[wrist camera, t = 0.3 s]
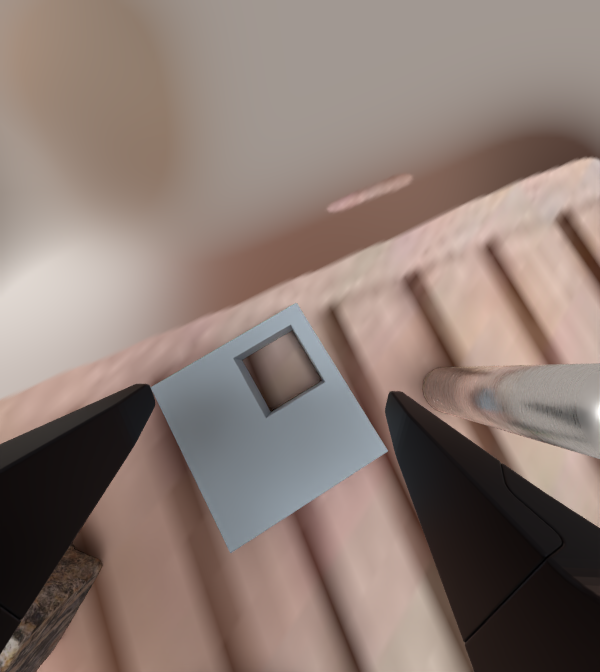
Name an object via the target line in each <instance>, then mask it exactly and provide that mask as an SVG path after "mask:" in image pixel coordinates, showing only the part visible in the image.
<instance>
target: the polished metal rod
mask: <svg viewBox="0 0 600 672" xmlns="http://www.w3.org/2000/svg"><path fill="white" fill-rule="evenodd" d="M423 393H424V396H425V398H426V400H427V402H428V403H429V404H430V405H431V406H432V407H433V408H434V409H436V410H438V411H440V412H444V413H447V414H450V415H454V416H457V417H460V418H464V419H467V420H470V421H474V422H477V423H481V424H484V425H487V426H491V427H494V428H497V429H501V430H504V431H507V432H511V433H514V434H517V435H521V436H524V437H527V438H531V439H534V440H537V441H541V442H544V443H548V444H551V445H554V446H558V447H561V448H564V449H568V450H571V451H574V452H578V453H581V454H584V455H588V456H591V457H594V458H598V459H600V364H561V365H519V366H478V367H441V368H437V369H434V370H432V371H431V372H430V373H429V374H428V375H427V376H426V378H425V380H424V383H423Z"/></svg>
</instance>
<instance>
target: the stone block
mask: <svg viewBox="0 0 600 672" xmlns="http://www.w3.org/2000/svg"><path fill="white" fill-rule="evenodd" d="M102 566H103V565H102V563H101V561H100V560H99V559H97V558H94V557H92V556H87V555H86V554H85V553H83V552H79V551H77V550H75V549H74V547H73V546H72V543H71V545H70V547H69V548H68V550H67V551H66V553H65V554H64V556H63V557H62V559H61V561H60V562H59V564H58V565H57V567H56V568H55V570H54V571H53V573H52V575H51V576H50V578H49V579H48V581H47V582H46V584H45V585H44V587H43V589H42V590H41V592H40V593H39V595H38V596H37V598H36V599H35V601H34V603H33V604H32V606H31V607H30V609H29V610H28V612H27V613H26V615H25V617H24V618H23V619H22V620H21V623H20V625H19V626H18V628H17V629H16V631H15V632H14V634H13V636H12V637H11V639H10V640H9V642H8V643H7V645H6V646H5V648H4V650H3V651H2V653H1V654H0V672H36V671H37V670H38V668H39V667H40V665H41V664H42V663H43V662H44V660H46V659H47V657H48V656H49V655H50V654H51V652H52V651H53V650H54V648H55V646H56V644H57V643H58V641H59V640H60V638H61V637H62V635H63V633H64V631H65V630H66V628H67V627H68V625H69V623H70V622H71V620H72V618H73V617H74V615H75V613H76V612H77V610H78V608H79V606H80V604H81V603H82V602H83V600H84V598H85V596H86V594H87V593H88V591H89V589H90V588H91V586H92V584H93V583H94V581H95V579H96V577H97V575H98V573H99V572H100V569H101V568H102Z"/></svg>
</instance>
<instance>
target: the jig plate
mask: <svg viewBox="0 0 600 672" xmlns="http://www.w3.org/2000/svg"><path fill="white" fill-rule="evenodd" d="M290 331H293V332H294V334H295V336H296V337H297V339H298V341H299V342H300V344H301V345H302V347H303V349H304V350H305V352H306V354H307V355H308V357H309V359H310V360H311V362H312V364H313V365H314V367H315V369H316V370H317V372H318V374H319V375H320V377H321V379H322V380H323V381H321V382H319V383H318V384H316V385H314V386H313V387H311V388H310V389H308V390H306V391H305V392H303V393H301V394H300V395H298V396H296V397H295V398H293V399H292V400H290V401H288V402H287V403H285V404H283V405H282V406H280V407H278V408H277V409H275V410H274V411H272V412H271V411H270V410H269V408H268V406H267V404H266V402H265V400H264V399H263V397H262V395H261V393H260V391H259V390H258V388H257V386H256V384H255V382H254V381H253V379H252V377H251V375H250V373H249V372H248V370H247V368H246V366H245V364H244V363H243V361H242V360H243V359H244V358H246V357H248V356H249V355H251V354H253V353H255V352H256V351H258V350H260V349H261V348H263V347H265V346H266V345H268V344H270V343H271V342H273V341H275V340H277V339H278V338H280V337H282V336H283V335H285V334H287V333H288V332H290ZM151 389H152V391H153V393H154V395H155V397H156V399H157V401H158V404H159V406H160V408H161V410H162V412H163V414H164V416H165V418H166V420H167V422H168V424H169V426H170V429H171V431H172V433H173V435H174V437H175V439H176V441H177V443H178V445H179V447H180V449H181V451H182V454H183V456H184V458H185V460H186V462H187V464H188V466H189V468H190V470H191V472H192V474H193V476H194V478H195V481H196V483H197V485H198V487H199V489H200V491H201V493H202V495H203V497H204V499H205V501H206V503H207V506H208V508H209V510H210V512H211V514H212V516H213V518H214V520H215V522H216V524H217V526H218V528H219V530H220V533H221V535H222V537H223V539H224V541H225V543H226V545H227V547H228V549H229V551H230V553H232V552H233V551H235V550H236V549H238V548H239V547H241V546H242V545H244V544H245V543H247V542H249V541H250V540H252V539H253V538H255V537H256V536H258V535H259V534H261V533H262V532H264V531H266V530H267V529H269V528H270V527H272V526H273V525H275V524H276V523H278V522H279V521H281V520H283V519H284V518H286V517H287V516H289V515H290V514H292V513H293V512H295V511H296V510H298V509H299V508H301V507H303V506H304V505H306V504H307V503H309V502H310V501H312V500H313V499H315V498H316V497H318V496H320V495H321V494H323V493H324V492H326V491H327V490H329V489H330V488H332V487H333V486H335V485H336V484H338V483H340V482H341V481H343V480H344V479H346V478H347V477H349V476H350V475H352V474H353V473H355V472H357V471H358V470H360V469H361V468H363V467H364V466H366V465H367V464H369V463H370V462H372V461H374V460H375V459H377V458H378V457H380V456H381V455H383V454H384V453H386V452H387V451H388V450H387V449H386V447H385V446H384V444H383V442H382V441H381V439H380V437H379V436H378V434H377V433H376V431H375V429H374V428H373V426H372V424H371V423H370V421H369V420H368V418H367V416H366V415H365V413H364V411H363V410H362V408H361V407H360V405H359V403H358V402H357V400H356V398H355V397H354V395H353V394H352V392H351V390H350V389H349V387H348V385H347V384H346V382H345V381H344V379H343V377H342V376H341V374H340V373H339V371H338V369H337V368H336V366H335V364H334V363H333V361H332V360H331V358H330V356H329V355H328V353H327V351H326V350H325V348H324V347H323V345H322V343H321V342H320V340H319V338H318V337H317V335H316V334H315V332H314V330H313V329H312V327H311V325H310V324H309V322H308V321H307V319H306V317H305V316H304V314H303V312H302V311H301V309H300V308H299V306H298V304H297V303H295V304H293V305H292V306H290V307H288V308H286V309H285V310H283V311H281V312H280V313H278V314H276V315H274V316H273V317H271V318H269V319H267V320H266V321H264V322H262V323H261V324H259V325H257V326H255V327H254V328H252V329H250V330H249V331H247V332H245V333H243V334H242V335H240V336H238V337H236V338H235V339H233V340H231V341H230V342H228V343H226V344H224V345H223V346H221V347H219V348H218V349H216V350H214V351H212V352H211V353H209V354H207V355H205V356H204V357H202V358H200V359H199V360H197V361H195V362H193V363H192V364H190V365H188V366H187V367H185V368H183V369H181V370H180V371H178V372H176V373H174V374H173V375H171V376H169V377H168V378H166V379H164V380H162V381H161V382H159V383H157V384H156V385H154V386H152V387H151Z"/></svg>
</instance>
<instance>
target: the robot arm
mask: <svg viewBox="0 0 600 672" xmlns="http://www.w3.org/2000/svg"><path fill="white" fill-rule="evenodd" d="M154 407H155V399H154V396H153V393H152V390H151V387H150V386H149V385H148V384H135V385H133V386H130V387H128V388H126V389H124V390H121V391H119V392H117V393H115V394H112V395H110V396H108V397H106V398H103V399H101V400H99V401H97V402H94V403H92V404H90V405H88V406H85V407H83V408H81V409H79V410H76V411H74V412H72V413H70V414H67V415H65V416H63V417H61V418H58V419H56V420H54V421H52V422H49V423H47V424H45V425H43V426H40V427H38V428H36V429H34V430H31V431H29V432H27V433H25V434H22V435H20V436H18V437H16V438H13V439H11V440H9V441H7V442H4V443H2V444H0V654H1V653H2V651H3V650H4V648H5V646H6V645H7V643H8V642H9V640H10V639H11V637H12V636H13V634H14V632H15V631H16V629H17V628H18V626H19V625H20V623H21V620H22V619H23V618H24V617H25V615H26V613H27V612H28V610H29V609H30V607H31V606H32V604H33V603H34V601H35V599H36V598H37V596H38V595H39V593H40V592H41V590H42V589H43V587H44V585H45V584H46V582H47V581H48V579H49V578H50V576H51V575H52V573H53V571H54V570H55V568H56V567H57V565H58V564H59V562H60V561H61V559H62V557H63V556H64V554H65V553H66V551H67V550H68V548H69V547H70V545H71V543H72V542H73V540H74V539H75V537H76V536H77V534H78V533H79V531H80V529H81V528H82V526H83V525H84V523H85V522H86V520H87V519H88V517H89V515H90V514H91V512H92V511H93V509H94V508H95V506H96V505H97V503H98V501H99V500H100V498H101V497H102V495H103V494H104V492H105V491H106V489H107V487H108V486H109V484H110V483H111V481H112V480H113V478H114V477H115V475H116V474H117V472H118V470H119V469H120V467H121V466H122V464H123V463H124V461H125V460H126V458H127V456H128V455H129V453H130V452H131V450H132V448H133V447H134V445H135V443H136V441H137V440H138V438H139V436H140V434H141V432H142V430H143V428H144V426H145V424H146V422H147V421H148V419H149V417H150V415H151V413H152V411H153V409H154ZM385 414H386V418H387V422H388V426H389V431H390V435H391V439H392V443H393V447H394V451H395V454H396V457H397V460H398V463H399V466H400V469H401V471H402V474H403V477H404V479H405V482H406V485H407V488H408V490H409V493H410V496H411V499H412V501H413V504H414V507H415V510H416V512H417V515H418V518H419V521H420V523H421V526H422V529H423V532H424V534H425V537H426V540H427V543H428V545H429V548H430V551H431V553H432V556H433V559H434V562H435V564H436V567H437V570H438V573H439V575H440V578H441V581H442V584H443V586H444V589H445V592H446V595H447V597H448V600H449V603H450V606H451V608H452V611H453V614H454V617H455V619H456V622H457V625H458V628H459V630H460V633H461V636H462V638H463V641H464V642H465V647H466V650H467V653H468V656H469V658H470V661H471V664H472V666H473V669H474V672H600V528H599V527H597V526H596V525H594V524H593V523H591V522H589V521H588V520H586V519H585V518H583V517H582V516H580V515H579V514H577V513H575V512H574V511H572V510H571V509H569V508H568V507H566V506H565V505H563V504H562V503H560V502H559V501H557V500H555V499H554V498H552V497H551V496H549V495H548V494H546V493H545V492H543V491H542V490H540V489H539V488H537V487H536V486H534V485H533V484H532V483H530V482H529V481H527V480H526V479H524V478H523V477H521V476H520V475H519V474H517V473H516V472H514V471H513V470H511V469H510V468H509V467H507V466H506V465H504V464H501V463H500V461H499V460H497V459H496V458H494V457H493V456H492V455H490V454H489V453H487V452H486V451H485V450H483V449H482V448H480V447H479V446H478V445H476V444H475V443H473V442H472V441H471V440H469V439H468V438H466V437H465V436H463V435H462V434H461V433H459V432H458V431H456V430H455V429H454V428H452V427H451V426H449V425H448V424H447V423H445V422H444V421H442V420H441V419H440V418H438V417H437V416H435V415H434V414H432V413H431V412H430V411H428V410H427V409H425V408H424V407H423V406H421V405H420V404H418V403H417V402H416V401H414V400H413V399H411V398H410V397H409V396H407V395H406V394H404V393H403V392H400V391H391V392H389V394H388V399H387V403H386V408H385Z"/></svg>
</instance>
